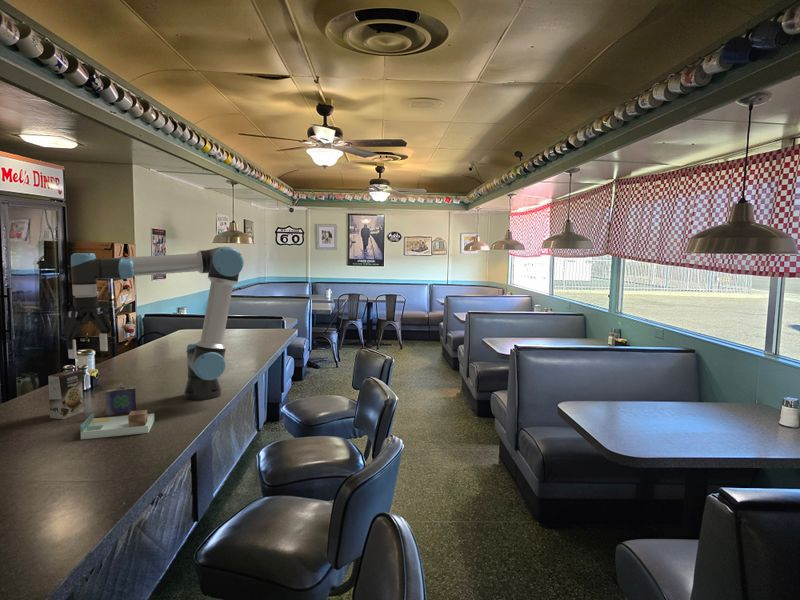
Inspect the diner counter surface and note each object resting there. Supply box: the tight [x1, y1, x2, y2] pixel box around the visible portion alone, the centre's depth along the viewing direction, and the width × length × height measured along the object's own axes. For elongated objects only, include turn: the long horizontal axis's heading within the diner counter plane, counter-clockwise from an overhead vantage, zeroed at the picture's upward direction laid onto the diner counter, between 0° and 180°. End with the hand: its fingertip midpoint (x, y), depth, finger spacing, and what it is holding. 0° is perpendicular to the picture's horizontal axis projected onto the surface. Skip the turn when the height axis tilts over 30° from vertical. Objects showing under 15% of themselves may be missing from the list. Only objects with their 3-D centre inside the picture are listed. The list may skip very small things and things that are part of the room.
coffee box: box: [47, 370, 84, 420], centre depth 186 cm, size 9×6×16 cm
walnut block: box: [127, 409, 148, 427], centre depth 170 cm, size 5×5×4 cm
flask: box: [105, 383, 137, 417], centre depth 189 cm, size 10×3×12 cm, turn 121°
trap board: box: [79, 412, 156, 440], centre depth 172 cm, size 20×14×4 cm
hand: (89, 354), depth 180 cm, fingers open, 13 cm apart
